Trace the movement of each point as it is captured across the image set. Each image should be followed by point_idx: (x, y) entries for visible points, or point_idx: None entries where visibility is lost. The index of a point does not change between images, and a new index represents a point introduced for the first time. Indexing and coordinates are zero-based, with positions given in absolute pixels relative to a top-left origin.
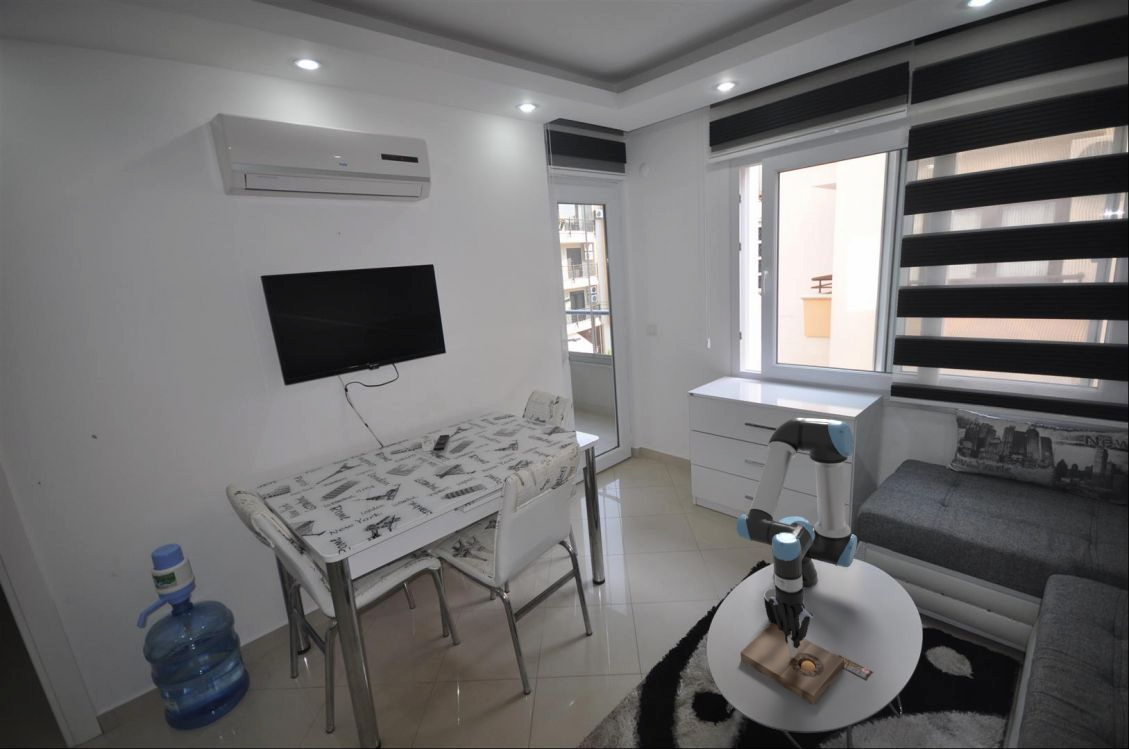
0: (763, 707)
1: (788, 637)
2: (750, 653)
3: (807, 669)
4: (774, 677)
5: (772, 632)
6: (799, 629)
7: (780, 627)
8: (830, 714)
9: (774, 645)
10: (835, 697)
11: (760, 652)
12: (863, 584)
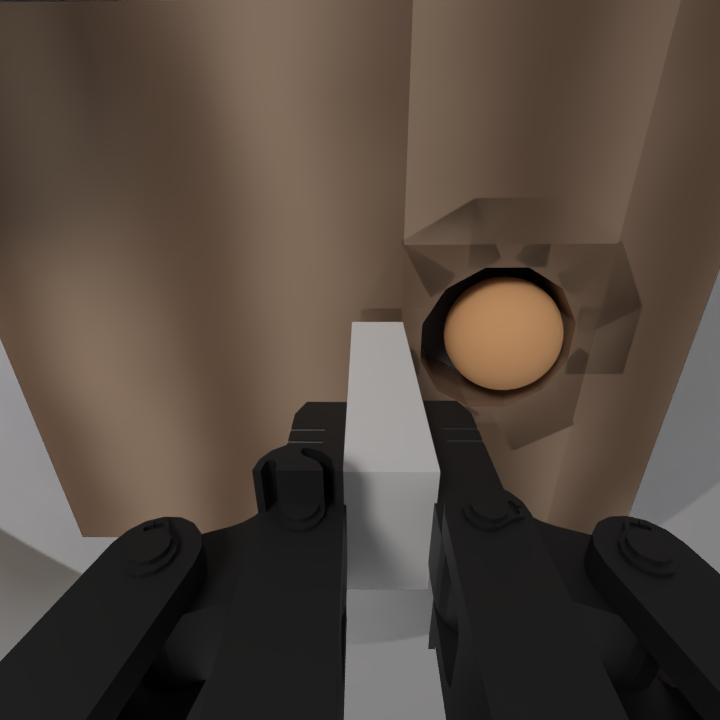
0: (395, 615)
1: (364, 582)
2: (130, 508)
3: (520, 386)
4: None
5: (24, 183)
6: (595, 673)
7: (184, 706)
8: (678, 482)
9: (176, 333)
10: (688, 372)
11: (165, 461)
12: None
